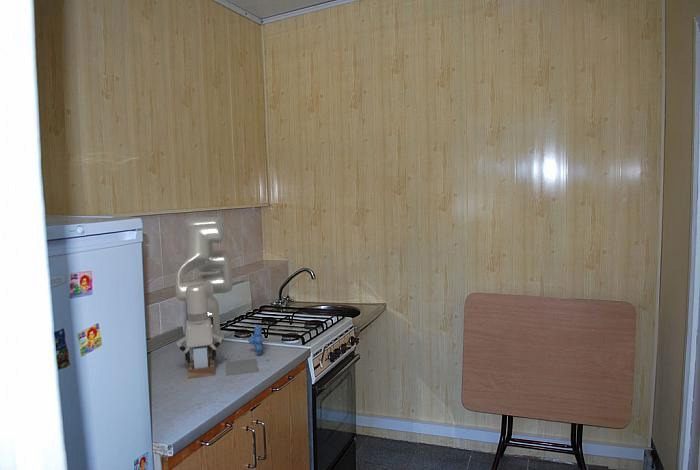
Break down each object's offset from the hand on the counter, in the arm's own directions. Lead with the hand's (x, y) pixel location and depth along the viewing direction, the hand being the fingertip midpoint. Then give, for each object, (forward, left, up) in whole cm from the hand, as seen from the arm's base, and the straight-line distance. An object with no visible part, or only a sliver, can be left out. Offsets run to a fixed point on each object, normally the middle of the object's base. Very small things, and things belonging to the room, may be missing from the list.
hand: (201, 360), depth 185 cm
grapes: (-14, +22, -5) cm, 27 cm away
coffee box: (-19, 0, -5) cm, 20 cm away
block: (0, 0, -5) cm, 5 cm away
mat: (0, +15, -5) cm, 16 cm away
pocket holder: (0, 0, -5) cm, 5 cm away
